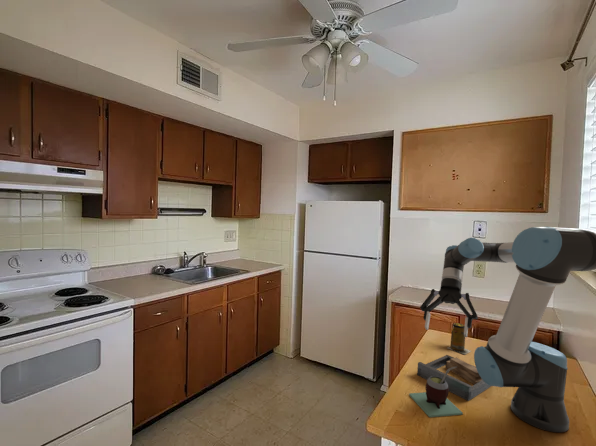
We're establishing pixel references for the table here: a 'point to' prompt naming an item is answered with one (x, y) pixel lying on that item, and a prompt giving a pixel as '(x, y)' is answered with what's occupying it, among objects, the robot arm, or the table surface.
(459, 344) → the condiment
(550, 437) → the table surface
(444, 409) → the green mat
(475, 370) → the offcut stack
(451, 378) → the tray
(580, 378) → the table surface
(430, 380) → the mate gourd
